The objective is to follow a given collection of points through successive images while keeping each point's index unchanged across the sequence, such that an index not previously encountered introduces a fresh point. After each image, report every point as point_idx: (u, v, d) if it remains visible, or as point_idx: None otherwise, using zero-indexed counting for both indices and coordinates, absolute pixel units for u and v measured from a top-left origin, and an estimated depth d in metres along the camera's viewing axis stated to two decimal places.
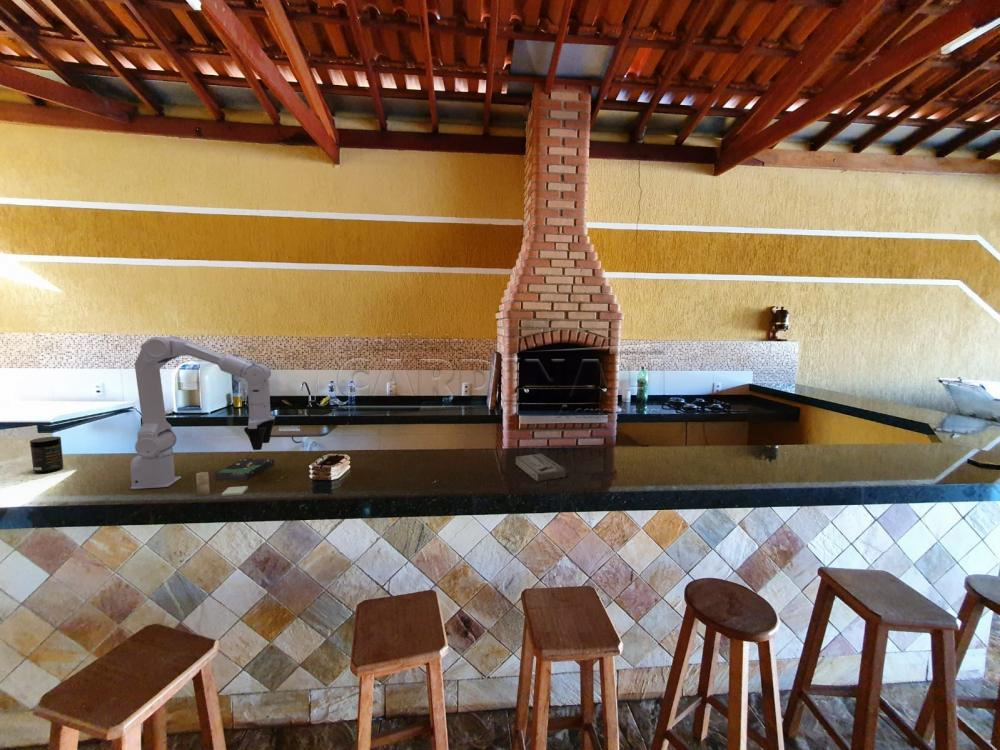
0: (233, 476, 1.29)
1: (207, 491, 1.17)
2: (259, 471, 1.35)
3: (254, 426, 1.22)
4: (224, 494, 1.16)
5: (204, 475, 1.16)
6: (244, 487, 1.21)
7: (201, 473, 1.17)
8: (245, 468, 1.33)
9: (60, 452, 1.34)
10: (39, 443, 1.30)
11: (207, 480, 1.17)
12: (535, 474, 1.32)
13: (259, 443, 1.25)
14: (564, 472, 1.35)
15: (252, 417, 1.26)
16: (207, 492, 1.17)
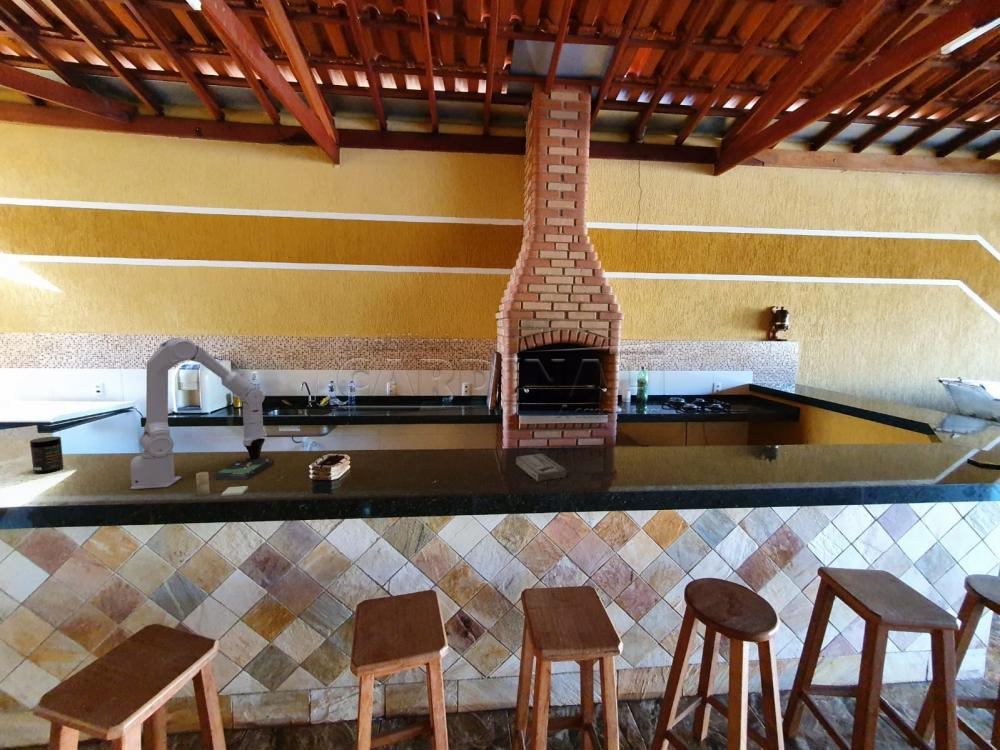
0: (233, 476, 1.28)
1: (207, 491, 1.17)
2: (259, 471, 1.35)
3: (248, 443, 1.37)
4: (224, 494, 1.16)
5: (204, 475, 1.16)
6: (244, 487, 1.21)
7: (201, 473, 1.17)
8: (245, 468, 1.33)
9: (60, 452, 1.34)
10: (39, 443, 1.30)
11: (207, 480, 1.17)
12: (535, 474, 1.33)
13: (256, 455, 1.43)
14: (564, 472, 1.35)
15: (247, 435, 1.40)
16: (207, 492, 1.17)
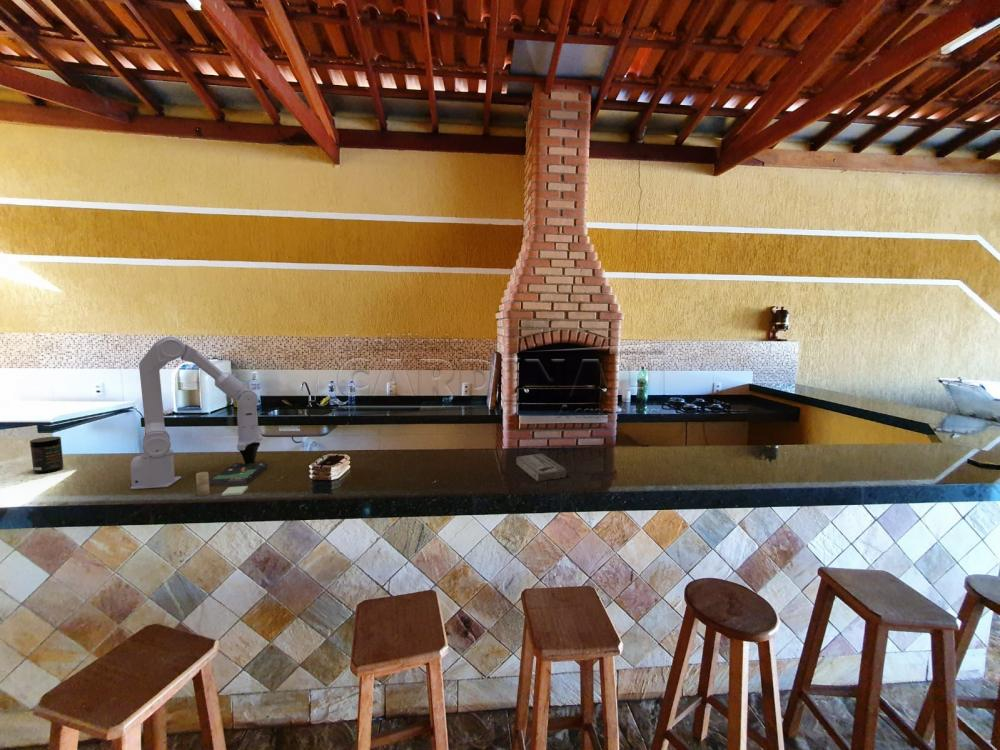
0: (231, 482, 1.24)
1: (207, 491, 1.17)
2: (256, 475, 1.31)
3: (242, 448, 1.32)
4: (224, 494, 1.16)
5: (204, 475, 1.16)
6: (244, 487, 1.21)
7: (201, 473, 1.17)
8: (242, 473, 1.28)
9: (60, 452, 1.34)
10: (39, 443, 1.30)
11: (207, 480, 1.17)
12: (536, 474, 1.33)
13: (251, 460, 1.38)
14: (565, 472, 1.35)
15: (241, 439, 1.36)
16: (207, 492, 1.17)
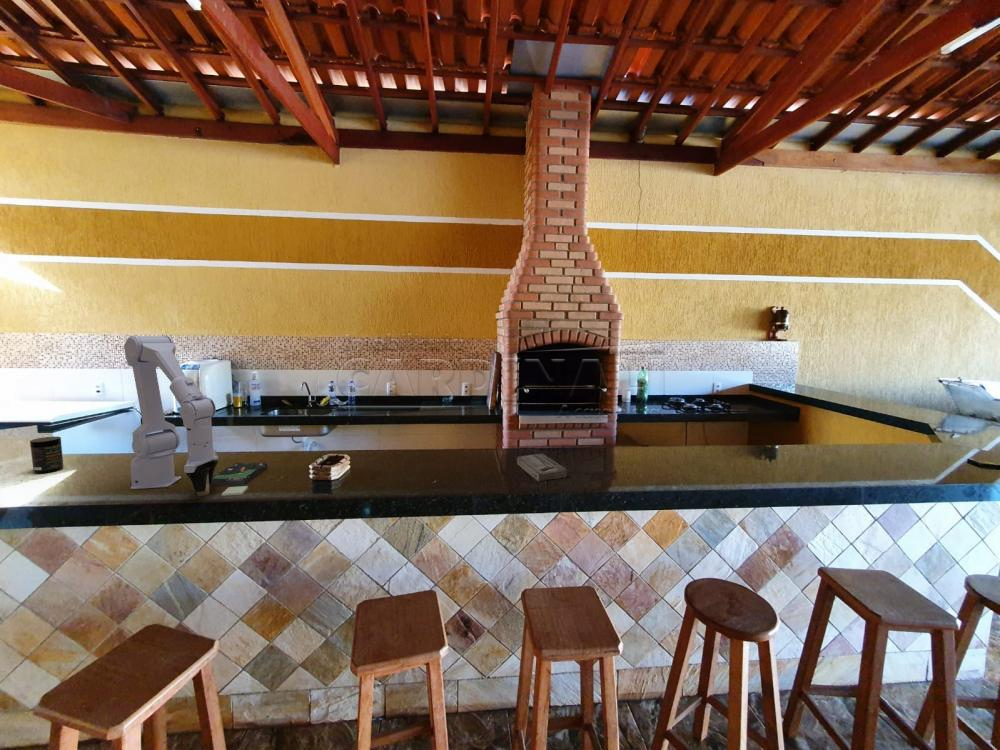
0: (229, 482, 1.24)
1: (207, 491, 1.17)
2: (255, 476, 1.31)
3: (191, 470, 1.10)
4: (224, 494, 1.16)
5: None
6: (244, 487, 1.21)
7: None
8: (241, 473, 1.28)
9: (60, 452, 1.34)
10: (39, 443, 1.30)
11: (207, 480, 1.17)
12: (536, 474, 1.32)
13: (202, 484, 1.15)
14: (565, 472, 1.35)
15: (191, 458, 1.14)
16: (207, 492, 1.17)
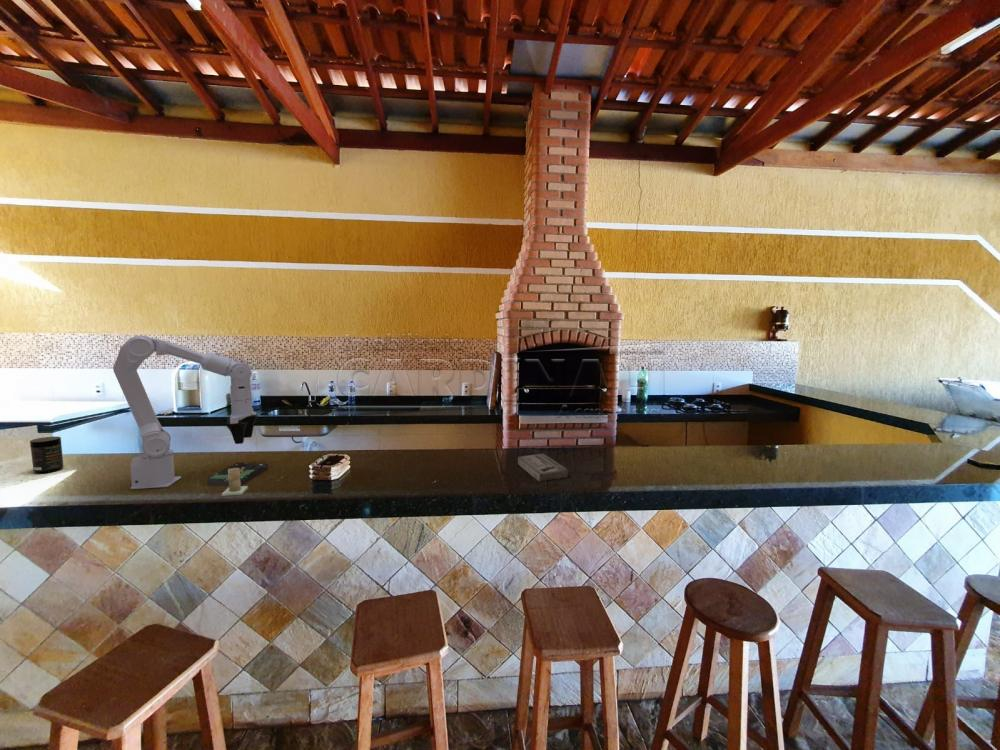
0: (226, 482, 1.24)
1: (239, 486, 1.19)
2: (253, 476, 1.30)
3: (235, 421, 1.29)
4: (224, 494, 1.16)
5: (236, 471, 1.18)
6: (244, 487, 1.21)
7: (232, 469, 1.19)
8: None
9: (60, 452, 1.34)
10: (39, 443, 1.30)
11: (239, 476, 1.19)
12: (537, 474, 1.32)
13: (241, 437, 1.32)
14: (566, 472, 1.35)
15: (234, 413, 1.33)
16: (239, 487, 1.19)
